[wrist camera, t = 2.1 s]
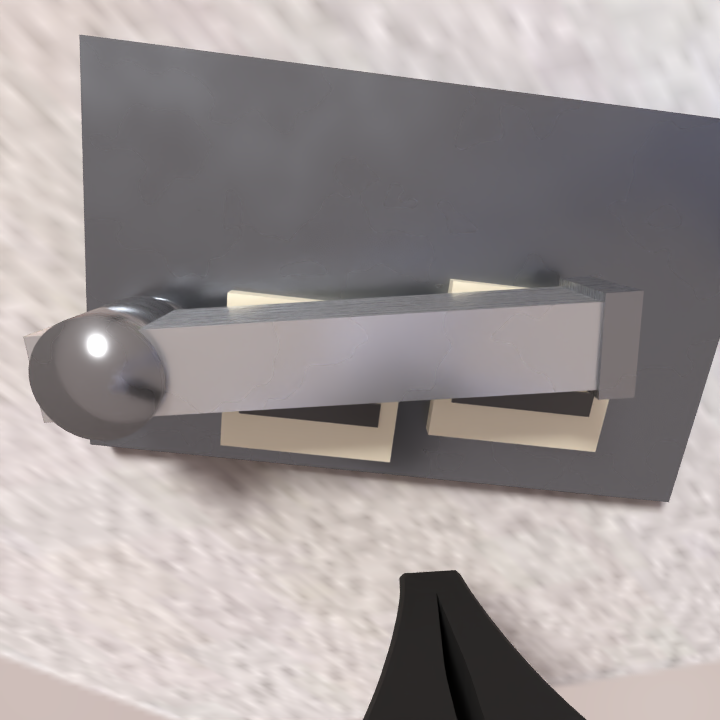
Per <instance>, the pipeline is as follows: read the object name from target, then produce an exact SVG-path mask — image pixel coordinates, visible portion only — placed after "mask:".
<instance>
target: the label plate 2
mask: <svg viewBox="0 0 720 720" xmlns="http://www.w3.org/2000/svg"><path fill="white" fill-rule="evenodd" d="M509 289H525V287H517V286H508V285H499V284H491V283H482V282H474V281H465V280H456V279H450V283H449V289H448V293H459V292H476V291H492V290H509ZM608 402H609V399H604V400H598V399H597V398H596V397H594V396H593V395H592V394H590V393H589V392H588V391H571V392H554V393H537V394H520V395H503V396H486V397H470V398H453V399H436V400H431V401H430V407H429V413H428V419H427V425H426V429H427V432H428V435H435V436H445V437H454V438H464V439H474V440H483V441H493V442H503V443H513V444H522V445H532V446H542V447H551V448H561V449H571V450H580V451H590V452H596V448H597V444H598V440H599V436H600V432H601V429H602V425H603V421H604V417H605V413H606V409H607V405H608Z"/></svg>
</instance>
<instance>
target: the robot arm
mask: <svg viewBox="0 0 720 720" xmlns="http://www.w3.org/2000/svg"><path fill="white" fill-rule="evenodd" d="M399 579H400V599H399V606H398V613H397V618H396V623H395V627H394V631H393V636H392V640H391V644H390V647H389V651H388V654H387V657H386V660H385V663H384V667H383V670H382V673H381V676H380V679H379V681H378V684H377V687H376V690H375V692H374V695H373V697H372V700H371V702H370V705H369V707H368V709H367V712H366V714H365V716H364V718H363V720H586V719H585V718H584V717H583V716H582V715H580V714H579V713H578V712H577V711H576V710H575V709H574V708H573V707H572V706H570V705H569V704H568V703H567V702H566V701H565V700H564V699H563V698H562V697H561V696H560V695H559V694H558V693H557V692H556V691H555V690H554V689H553V688H551V687H550V686H549V685H548V684H547V683H546V682H545V680H544V679H543V678H542V677H541V676H540V675H539V674H538V673H537V672H536V671H535V670H534V669H533V668H532V667H531V666H530V665H529V664H528V662H527V661H526V660H525V659H524V658H523V657H522V656H521V655H520V654H519V652H518V651H517V650H516V649H515V648H514V647H513V646H512V644H511V643H510V642H509V641H508V640H507V638H506V637H505V636H504V635H503V633H502V632H501V631H500V630H499V628H498V627H497V626H496V625H495V623H494V622H493V621H492V620H491V618H490V617H489V616H488V614H487V613H486V612H485V610H484V609H483V608H482V606H481V605H480V604H479V602H478V601H477V599H476V598H475V596H474V595H473V594H472V592H471V591H470V589H469V588H468V586H467V584H466V583H465V581H464V580H463V578H462V576H461V575H460V574H459V573H458V572H457V571H456V570H451V571H435V572H419V573H404V574H403V575H402V576H401V577H400V578H399Z"/></svg>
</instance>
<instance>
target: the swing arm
mask: <svg viewBox="0 0 720 720" xmlns="http://www.w3.org/2000/svg"><path fill="white" fill-rule="evenodd" d="M643 295H644V291H642V290H639V289H635V288H632V287H628V286H624V285H621V284H617V283H613V282H610V281H606V280H602V279H599V278H595V277H591V276H586V277H570V278H560V280H559V286H558V287H542V288H525V289H509V290H492V291H476V292H459V293H443V294H426V295H410V296H394V297H377V298H361V299H344V300H328V301H311V302H295V303H278V304H262V305H245V306H229V307H212V308H196V309H179V310H176V309H175V308H173V307H172V306H171V305H169V304H167V303H165V302H163V301H161V300H158V299H155V298H151V297H145V296H133V297H127V298H124V299H120V300H118V301H115V302H113V303H110V304H107V305H105V306H102V307H99V308H97V309H94V310H91V311H89V312H86V313H83V314H81V315H78V316H75V317H73V318H70V319H67V320H65V321H62V322H60V323H58V324H56V325H53V326H51V327H48V328H45V329H43V330H40V331H37V332H35V333H32V334H29V335H27V336H24V337H23V338H24V342H25V346H26V350H27V354H28V358H29V380H30V385H31V389H32V392H33V394H34V396H35V399H36V401H37V402H38V404H39V406H40V408H41V412H42V416H43V420H44V423H48V422H55V423H56V424H57V425H58V426H60V427H61V428H63V429H64V430H66V431H68V432H70V433H72V434H74V435H76V436H79V437H82V438H86V439H90V440H98V441H109V440H116V439H120V438H124V437H126V436H129V435H131V434H133V433H135V432H136V431H138V430H139V429H140V428H142V427H143V426H144V425H145V424H146V423H147V422H148V421H149V420H150V419H151V418H152V417H153V416H166V415H183V414H200V413H217V412H234V411H251V410H267V409H284V408H301V407H318V406H335V405H352V404H368V403H385V402H402V401H419V400H436V399H453V398H470V397H486V396H503V395H520V394H537V393H554V392H571V391H588V392H589V393H590V394H592V395H593V396H594V397H596V398H597V399H598V400H604V399H621V398H634V396H635V385H636V373H637V362H638V351H639V340H640V328H641V317H642V306H643Z"/></svg>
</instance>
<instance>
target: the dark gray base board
mask: <svg viewBox="0 0 720 720" xmlns="http://www.w3.org/2000/svg"><path fill="white" fill-rule="evenodd" d="M80 72H81V110H82V148H83V185H84V223H85V261H86V298H87V312H89V311H91V310H94V309H97V308H99V307H102V306H105V305H107V304H110V303H113V302H115V301H118V300H120V299H124V298H127V297H133V296H145V297H151V298H155V299H158V300H161V301H163V302H165V303H167V304H169V305H171V306H172V307H173V308H175V309H176V310H179V309H196V308H212V307H227V293H228V292H229V291H231V290H236V291H245V292H253V293H262V294H271V295H280V296H289V297H298V298H307V299H315V300H324V301H328V300H344V299H361V298H377V297H394V296H410V295H426V294H443V293H448V289H449V283H450V279H456V280H465V281H474V282H482V283H491V284H499V285H508V286H517V287H525V288H542V287H558V286H559V280H560V278H570V277H586V276H591V277H595V278H599V279H602V280H606V281H610V282H613V283H617V284H621V285H624V286H628V287H632V288H635V289H639V290H642V291H644V295H643V306H642V317H641V328H640V340H639V351H638V362H637V373H636V385H635V396H634V398H621V399H609V402H608V405H607V409H606V413H605V417H604V421H603V425H602V429H601V432H600V436H599V440H598V444H597V448H596V452H590V451H580V450H571V449H561V448H551V447H542V446H532V445H522V444H513V443H503V442H493V441H483V440H474V439H464V438H454V437H445V436H435V435H428V432H427V429H426V425H427V419H428V413H429V407H430V401H431V400H419V401H402V402H399V403H398V409H397V416H396V423H395V430H394V437H393V444H392V451H391V458H390V462H382V461H372V460H362V459H352V458H342V457H332V456H322V455H312V454H302V453H292V452H282V451H272V450H263V449H253V448H243V447H233V446H223V445H220V442H221V421H222V412H217V413H200V414H183V415H166V416H153V417H152V418H151V419H150V420H149V421H148V422H147V423H146V424H145V425H144V426H143V427H142V428H140V429H139V430H138V431H136V432H135V433H133V434H131V435H129V436H126V437H124V438H120V439H116V440H109V441H98V440H90V444H92V445H102V446H112V447H122V448H132V449H142V450H152V451H162V452H172V453H182V454H192V455H202V456H212V457H222V458H232V459H242V460H252V461H262V462H272V463H282V464H292V465H302V466H312V467H322V468H332V469H342V470H352V471H362V472H372V473H382V474H392V475H402V476H412V477H422V478H432V479H442V480H452V481H462V482H472V483H482V484H492V485H502V486H512V487H522V488H532V489H543V490H553V491H563V492H573V493H583V494H593V495H603V496H613V497H623V498H633V499H643V500H653V501H663V502H669V499H670V496H671V493H672V490H673V487H674V483H675V480H676V477H677V474H678V470H679V467H680V464H681V461H682V458H683V454H684V451H685V448H686V445H687V441H688V438H689V435H690V432H691V429H692V425H693V422H694V419H695V416H696V412H697V409H698V406H699V403H700V400H701V396H702V393H703V390H704V387H705V383H706V380H707V377H708V374H709V371H710V367H711V364H712V361H713V358H714V355H715V351H716V348H717V345H718V342H719V338H720V119H719V118H711V117H704V116H696V115H688V114H681V113H673V112H666V111H658V110H650V109H643V108H635V107H627V106H620V105H612V104H605V103H597V102H589V101H582V100H574V99H566V98H559V97H551V96H544V95H536V94H528V93H521V92H513V91H505V90H498V89H490V88H483V87H475V86H467V85H460V84H452V83H444V82H437V81H429V80H422V79H414V78H406V77H399V76H391V75H383V74H376V73H368V72H361V71H353V70H345V69H338V68H330V67H322V66H315V65H307V64H300V63H292V62H284V61H277V60H269V59H261V58H254V57H246V56H239V55H231V54H223V53H216V52H208V51H200V50H193V49H185V48H178V47H170V46H162V45H155V44H147V43H139V42H132V41H124V40H117V39H109V38H101V37H94V36H86V35H80Z"/></svg>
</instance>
